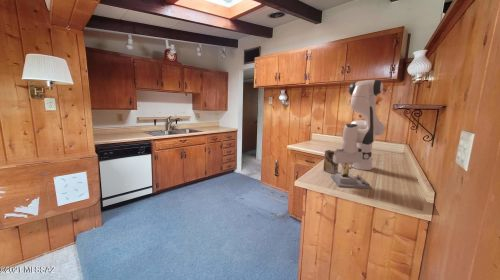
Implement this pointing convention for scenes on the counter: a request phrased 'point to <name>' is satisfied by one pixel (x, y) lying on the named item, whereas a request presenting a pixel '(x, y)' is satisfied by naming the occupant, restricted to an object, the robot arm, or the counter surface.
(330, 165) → the coffee box
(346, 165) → the pin
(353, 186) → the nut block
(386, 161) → the counter surface
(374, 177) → the counter surface
